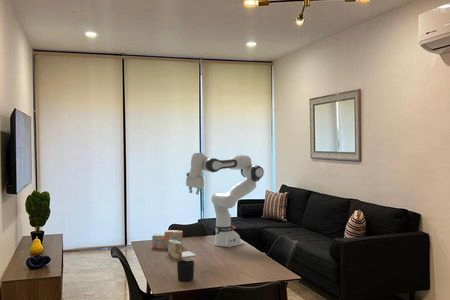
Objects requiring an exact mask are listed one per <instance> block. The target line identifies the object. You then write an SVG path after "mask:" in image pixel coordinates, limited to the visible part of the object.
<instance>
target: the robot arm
mask: <svg viewBox="0 0 450 300" xmlns="http://www.w3.org/2000/svg"><path fill="white" fill-rule="evenodd" d="M224 169H230V170H237V171H239V170H240V174H241V176H242V177H243V180H242V181H240V182H238V183H236V184H234V185H232V186H231V188H230V189H228V191H226V192H221V191H218V192H214V193H213V194H212V195H211V200H210V201H211V202H212V204H213V207H214V212H215V238H214V241H213V242H214V243H213V245H214V246H217V247H227V248H231V247H236V246H240V245H244V243H245V242H244V241H242V240H241V237H240V236H241V235H239V233H237V232H236V231H234V230H235V229H236V226H234V225H232V224H231V223H232V215H231V214H230V211H229V209H232V208H234V207H235V206H236V204H237V202H238V201H239V200H241V199H243V198H244V197H245V196H247V195H249V194H250V193H252V192H253V191H254V190H255V189H256V188H257V182H259V181H260V180H261V179H262V178H263V176H264V174H265V170H264V168H263V167H262V166H261V165H257V164H252V159H251V157H250V156H249V155H244V154H236V155H230V156H228V158H227V159H222V160H221V159H218V158H215V157H213V158H212V157H211V158H209V157H208V156H206V155H205V154H204V153H203V152H194V153H193V154H192V155H191V159H190V169H189V171H188V172H187V173H186V181H185V185H186V187H188V190H189V193H190V194H193V188H195V189H196V191H195V195H197V196H198V195H199V194H200V191H201V189H204V185H205V179H204V176H203V171H205V172H210V173H217V172H218V171H221V170H224Z"/></svg>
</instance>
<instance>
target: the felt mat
mask: <svg viewBox="0 0 450 300" xmlns="http://www.w3.org/2000/svg"><path fill="white" fill-rule="evenodd" d="M196 256H197V254H195V253H193V252H191V251H190V250H187V251H182V258H191V257H196ZM182 258H181V259H182Z"/></svg>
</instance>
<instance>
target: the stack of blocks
mask: <svg viewBox="0 0 450 300" xmlns="http://www.w3.org/2000/svg"><path fill="white" fill-rule="evenodd" d="M183 233H184V232H183V230H178V229H177V230H175V229H174V230H173V229H172V230H171V229H166V230H165V231H164V233H154V234H152V236H151V237H152V238H151V239H152V249H168V240H177V241H179V242H181V243H182V248H183V241H184V240H183V237H184V236H183V235H184V234H183Z"/></svg>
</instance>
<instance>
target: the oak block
mask: <svg viewBox="0 0 450 300" xmlns="http://www.w3.org/2000/svg"><path fill="white" fill-rule="evenodd" d="M182 252H183V247H182V243H181V242H179V241H177V240H168V248H167V253H168V254H167V255H168V256H169V257H172V259H175V260H176V259H182Z"/></svg>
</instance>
